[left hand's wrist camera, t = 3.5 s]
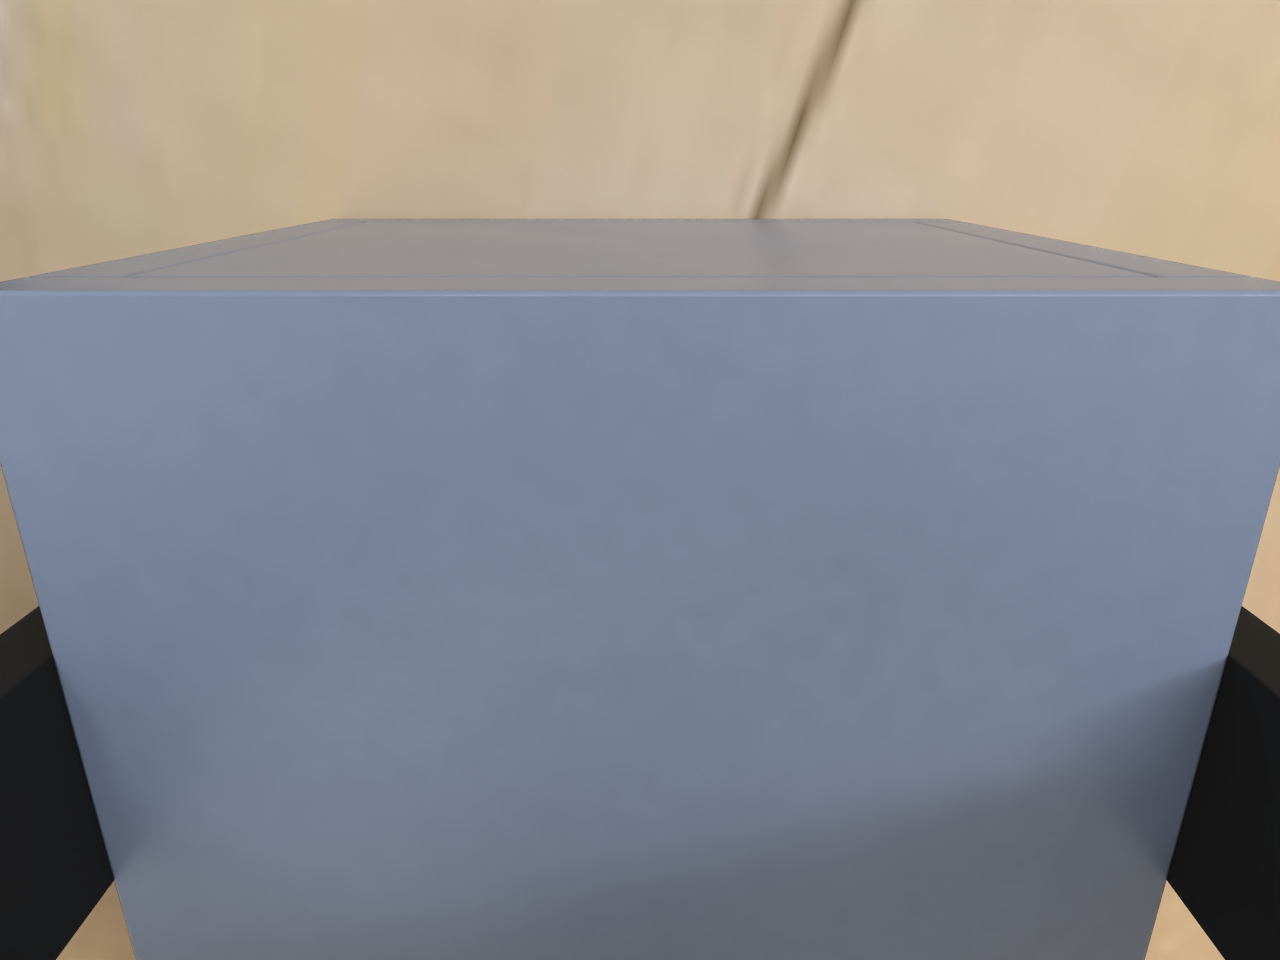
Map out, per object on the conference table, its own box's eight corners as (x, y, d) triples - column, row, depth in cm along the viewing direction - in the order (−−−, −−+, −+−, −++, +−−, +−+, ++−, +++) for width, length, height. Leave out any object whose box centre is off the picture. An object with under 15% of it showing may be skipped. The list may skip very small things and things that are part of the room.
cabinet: (864, 929, 21) (1014, 1442, 13) (415, 929, 21) (266, 1442, 13) (949, 218, 15) (1331, 291, 7) (330, 218, 15) (-51, 290, 7)
